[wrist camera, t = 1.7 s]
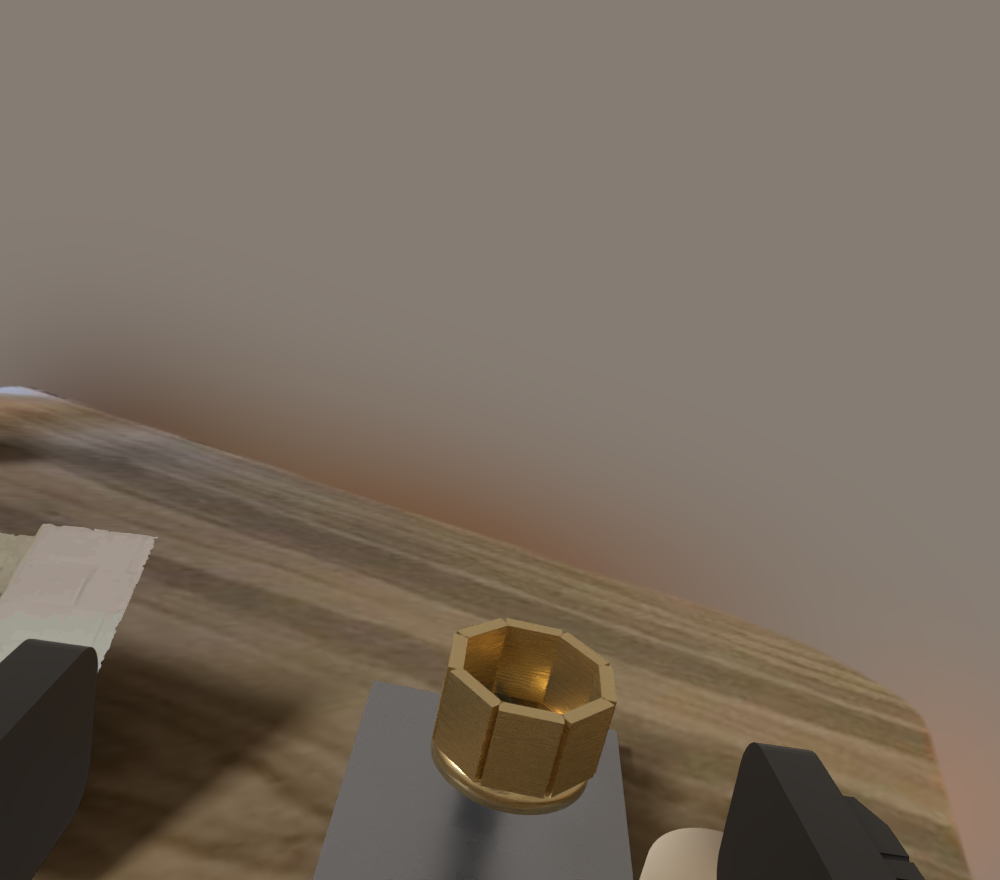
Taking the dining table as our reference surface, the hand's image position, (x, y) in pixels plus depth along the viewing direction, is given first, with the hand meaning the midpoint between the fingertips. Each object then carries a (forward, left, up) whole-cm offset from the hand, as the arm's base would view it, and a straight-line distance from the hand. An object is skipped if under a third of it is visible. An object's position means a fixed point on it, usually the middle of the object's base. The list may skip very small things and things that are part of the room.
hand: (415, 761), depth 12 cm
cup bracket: (-10, +26, -25) cm, 37 cm away
